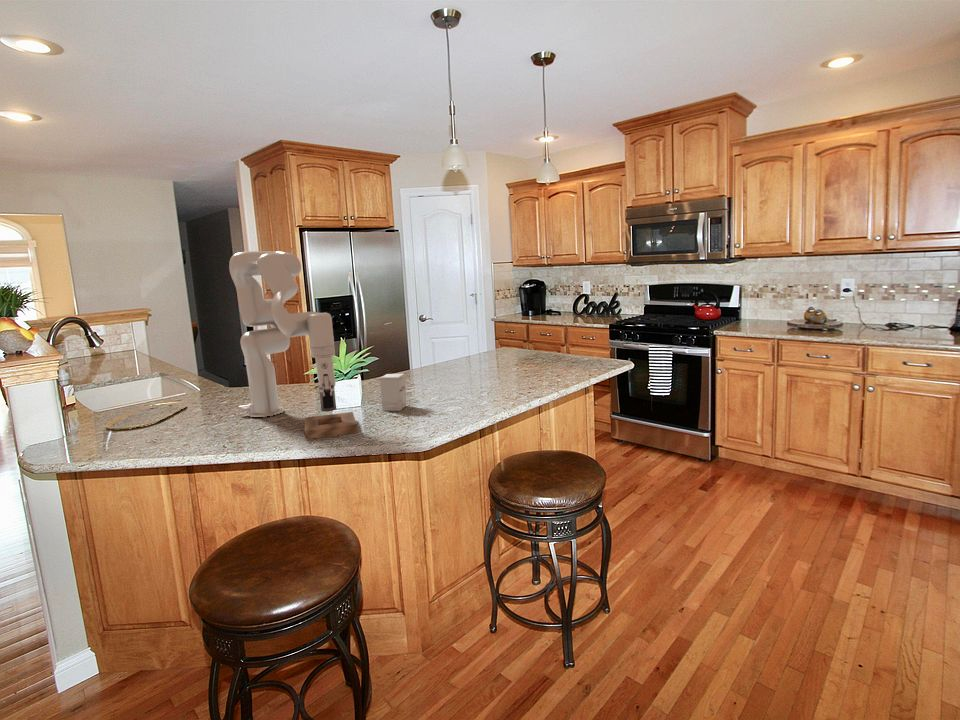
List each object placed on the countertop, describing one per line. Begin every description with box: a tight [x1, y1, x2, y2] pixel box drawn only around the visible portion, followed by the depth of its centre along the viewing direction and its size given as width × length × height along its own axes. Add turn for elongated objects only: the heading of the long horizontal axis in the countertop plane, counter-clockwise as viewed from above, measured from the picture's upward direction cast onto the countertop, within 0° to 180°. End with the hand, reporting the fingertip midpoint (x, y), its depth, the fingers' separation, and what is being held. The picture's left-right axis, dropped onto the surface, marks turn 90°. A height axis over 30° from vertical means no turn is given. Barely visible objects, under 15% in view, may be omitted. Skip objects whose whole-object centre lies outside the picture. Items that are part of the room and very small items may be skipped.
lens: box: [318, 384, 337, 413], centre depth 175 cm, size 5×5×8 cm
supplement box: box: [379, 373, 407, 412], centre depth 199 cm, size 7×7×13 cm
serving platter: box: [105, 401, 188, 431], centre depth 205 cm, size 19×35×2 cm, turn 3°
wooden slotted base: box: [304, 411, 359, 440], centre depth 176 cm, size 16×16×3 cm
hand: (328, 405), depth 175 cm, fingers closed on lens, 4 cm apart
